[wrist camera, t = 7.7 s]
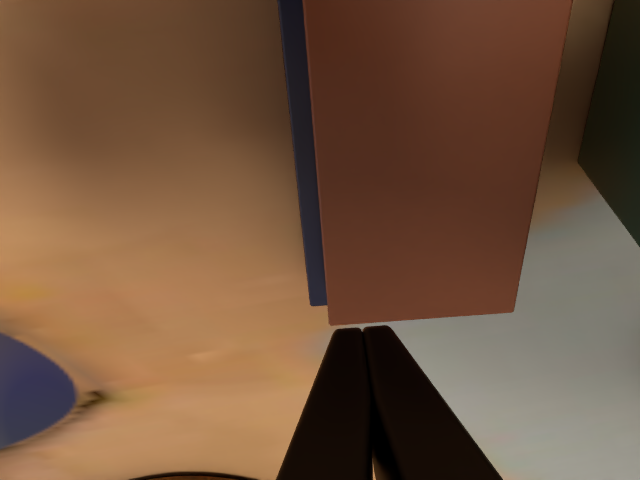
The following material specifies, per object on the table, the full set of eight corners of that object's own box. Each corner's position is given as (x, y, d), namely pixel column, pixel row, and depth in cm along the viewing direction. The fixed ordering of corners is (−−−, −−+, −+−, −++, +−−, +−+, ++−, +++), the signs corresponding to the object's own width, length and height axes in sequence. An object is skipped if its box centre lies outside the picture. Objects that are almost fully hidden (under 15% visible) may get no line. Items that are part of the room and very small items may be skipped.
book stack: (309, 271, 21) (311, 345, 18) (257, -224, 13) (247, -225, 10) (482, 259, 21) (510, 331, 18) (550, -249, 12) (623, -257, 10)
